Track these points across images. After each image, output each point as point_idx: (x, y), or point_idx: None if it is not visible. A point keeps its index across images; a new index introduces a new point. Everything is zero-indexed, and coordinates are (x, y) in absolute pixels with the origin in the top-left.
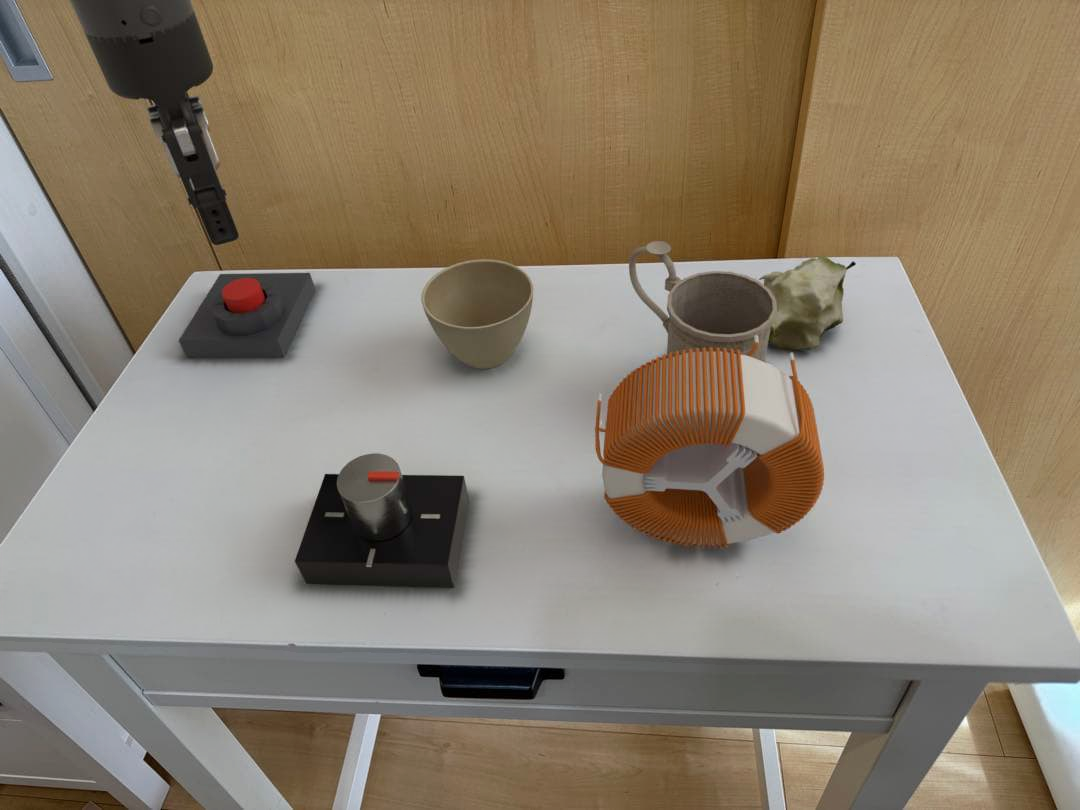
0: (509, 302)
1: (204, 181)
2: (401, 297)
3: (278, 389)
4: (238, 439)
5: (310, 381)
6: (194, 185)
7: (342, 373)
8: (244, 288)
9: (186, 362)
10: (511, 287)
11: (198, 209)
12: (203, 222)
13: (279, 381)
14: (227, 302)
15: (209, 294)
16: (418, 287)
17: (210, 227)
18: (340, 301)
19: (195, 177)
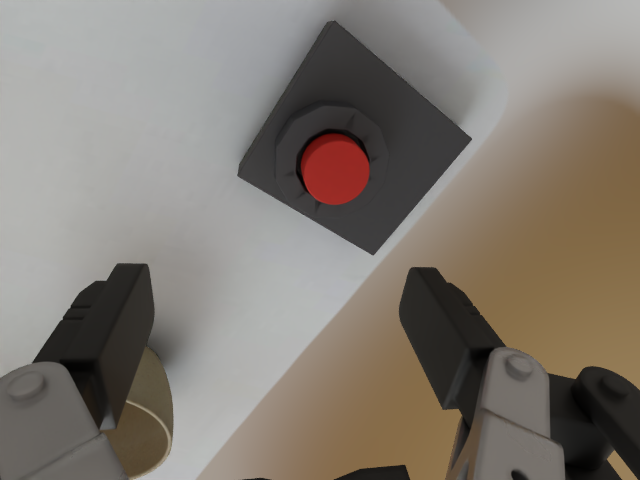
0: (143, 424)
1: (421, 319)
2: (280, 319)
3: (168, 137)
4: (69, 47)
5: (165, 182)
6: (428, 291)
7: (163, 223)
8: (333, 180)
9: (316, 16)
10: (139, 445)
11: (68, 347)
12: (91, 309)
13: (186, 143)
14: (321, 141)
15: (429, 108)
16: (288, 338)
17: (66, 315)
18: (319, 260)
19: (434, 316)
